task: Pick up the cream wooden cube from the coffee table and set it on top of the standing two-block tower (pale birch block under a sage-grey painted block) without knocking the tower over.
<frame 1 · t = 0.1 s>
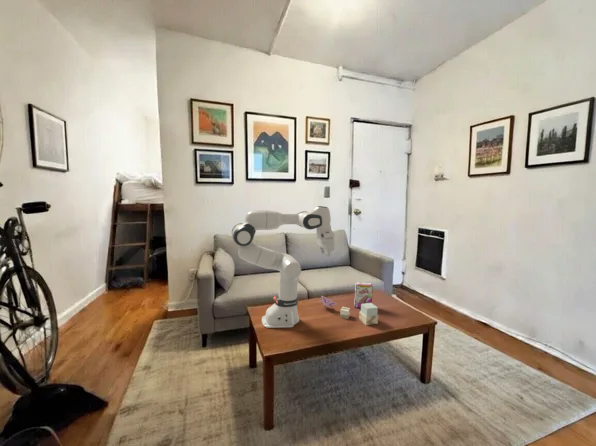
hand: (325, 255, 164), 39 cm above the table, tool pointing down, fingers open, 8 cm apart
tower base: (368, 321, 162), on the table, touching tower top
tower top: (368, 313, 162), point 5 cm above the table, touching tower base
lily: (327, 309, 178), on the table
cube: (345, 316, 168), on the table
candy bar box: (362, 307, 183), on the table
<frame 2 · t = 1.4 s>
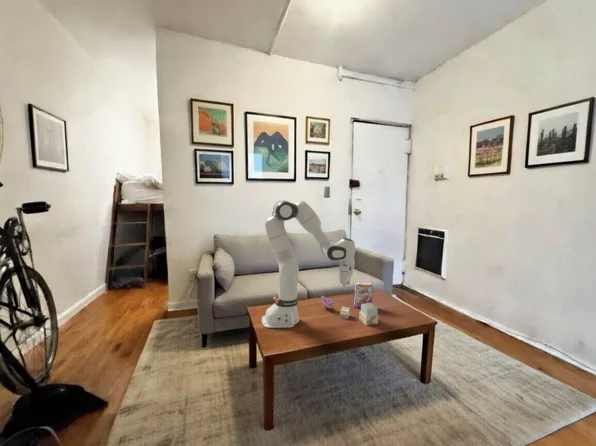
hand: (346, 286, 166), 19 cm above the table, tool pointing down, fingers open, 8 cm apart
nothing on the table moved.
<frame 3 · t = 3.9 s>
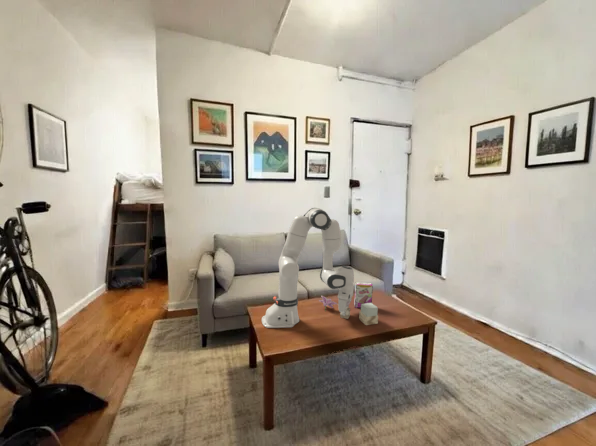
hand: (345, 313, 168), 2 cm above the table, tool pointing down, fingers closed on cube, 5 cm apart
cube: (345, 316, 168), on the table, touching gripper
everything else where it was.
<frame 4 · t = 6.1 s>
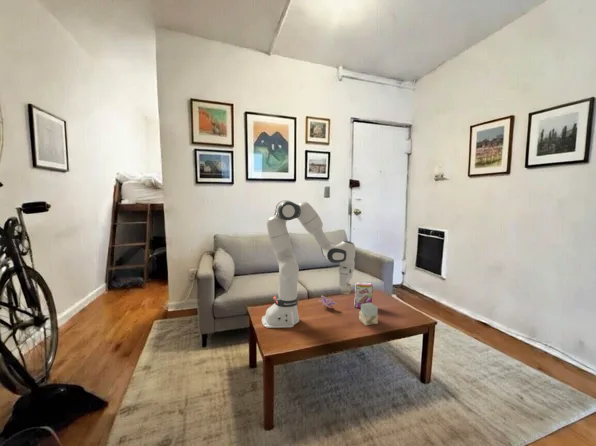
hand: (345, 289, 166), 18 cm above the table, tool pointing down, fingers closed on cube, 5 cm apart
cube: (345, 292, 166), point 16 cm above the table, touching gripper
everything else where it was.
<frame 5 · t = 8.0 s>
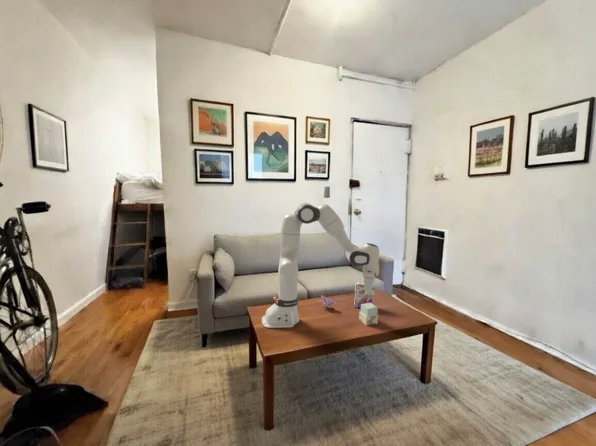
hand: (369, 293, 160), 17 cm above the table, tool pointing down, fingers closed on cube, 5 cm apart
cube: (369, 296, 161), point 15 cm above the table, touching gripper
everything else where it was.
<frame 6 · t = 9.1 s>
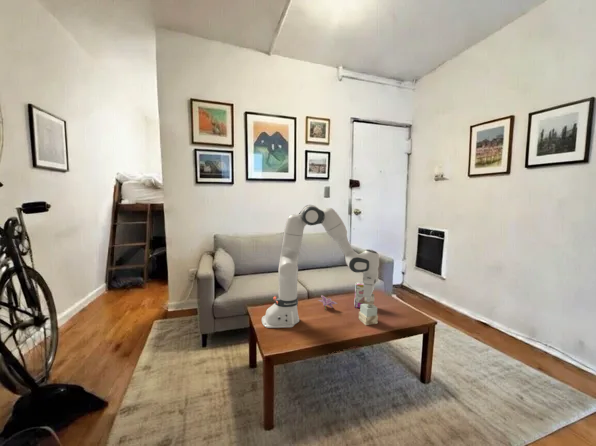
hand: (369, 299, 161), 14 cm above the table, tool pointing down, fingers closed on cube, 5 cm apart
cube: (369, 302, 161), point 11 cm above the table, touching gripper
everything else where it was.
when the fingers open (14 cm above the table, at t = 9.6 s): cube drops 2 cm, resting on tower top.
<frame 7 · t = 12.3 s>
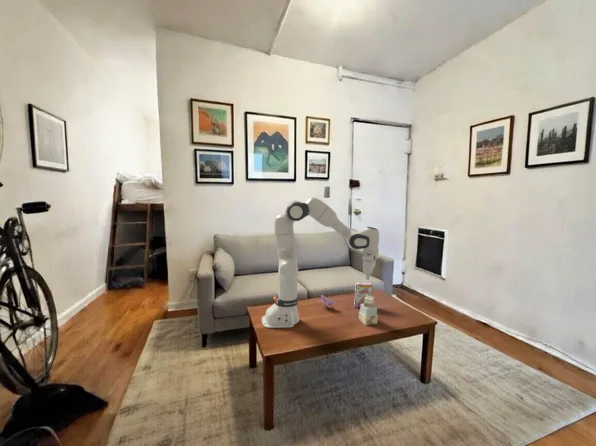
hand: (369, 277, 160), 27 cm above the table, tool pointing down, fingers open, 8 cm apart
tower top: (368, 313, 162), point 5 cm above the table, touching cube, tower base
cube: (369, 305, 161), point 10 cm above the table, touching tower top
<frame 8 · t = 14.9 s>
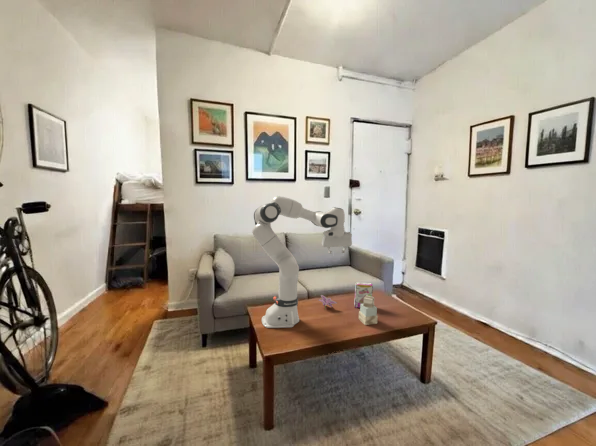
hand: (336, 253, 177), 37 cm above the table, tool pointing down, fingers open, 8 cm apart
at the end: cube 0.1 cm off-centre on the tower top, point 5.0 cm above the tower top's base; tower top 0.4 cm from the target spot, point 4.8 cm above the table; the gripper is holding nothing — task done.
